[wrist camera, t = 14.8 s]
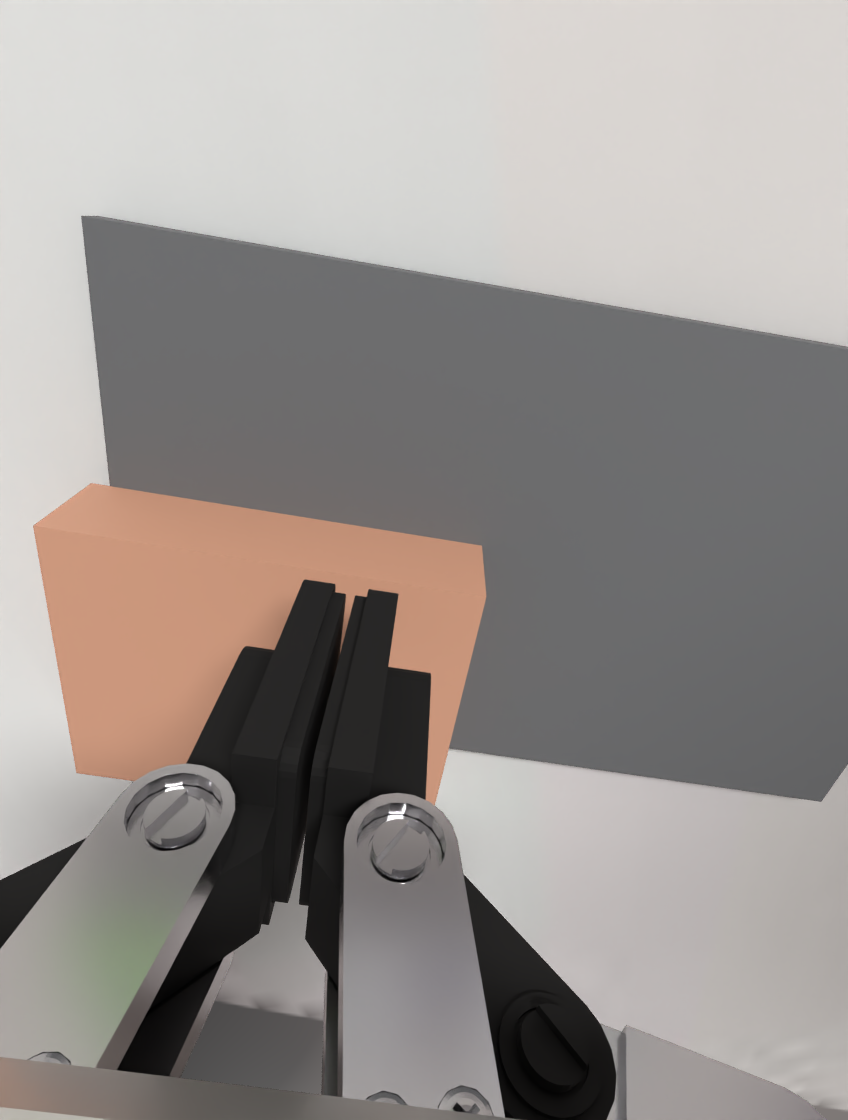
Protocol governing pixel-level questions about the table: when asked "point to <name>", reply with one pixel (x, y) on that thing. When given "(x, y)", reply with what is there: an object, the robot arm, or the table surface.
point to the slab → (226, 613)
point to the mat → (521, 485)
